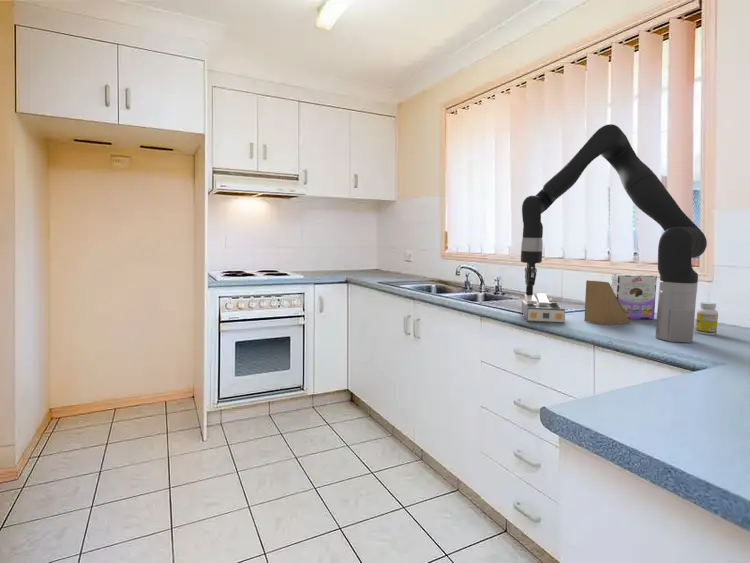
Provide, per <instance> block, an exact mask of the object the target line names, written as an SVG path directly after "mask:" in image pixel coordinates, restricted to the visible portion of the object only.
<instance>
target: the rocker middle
mask: <svg viewBox="0 0 750 563" xmlns="http://www.w3.org/2000/svg"><path fill="white" fill-rule="evenodd" d="M535 298H536V300H537V301H538V303H539V305H542V306H549V301H548V297H547V294H546V293H536V296H535Z"/></svg>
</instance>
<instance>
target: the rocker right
mask: <svg viewBox="0 0 750 563" xmlns="http://www.w3.org/2000/svg"><path fill="white" fill-rule="evenodd" d="M547 299H548V301H549V302H556V303H561V302H562V300H563V298H562V297H549V298H548V297H547Z"/></svg>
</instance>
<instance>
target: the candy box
mask: <svg viewBox="0 0 750 563" xmlns="http://www.w3.org/2000/svg"><path fill="white" fill-rule="evenodd" d="M657 281H658V280H657V275H654V274H646V273H645V274H642V273H641V274H639V273H612V275H611V284H610V285H611V288H612V290H613V292H614V294H615V295H616V297H617V299H618V301H619V302H620V304H621V306H622V308H623V310H624V311H625V313H626V315H627V317H628V318H629V320H630V319H632V320H635V319H636V320H639V319H640V320H654V319H655V310H656V309H655V307H656V305H655V304H656V294H657Z"/></svg>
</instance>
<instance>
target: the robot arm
mask: <svg viewBox="0 0 750 563" xmlns="http://www.w3.org/2000/svg"><path fill="white" fill-rule="evenodd" d="M633 148H634V147H632V144H631V143H630V140H629V139H628V137H627V135H626V134H625V133H624V132H623V131H622V129H621V128H620V127H619V126H618V125H616V124H612V123H611V124H605V125H603V126H601V127H600V128H598V129H597V130H596V131H594V133H593V134H592V136H591V137H590V138H589V139H588V140H587V142H585V144H584V145H583V146H582V147H581V148H580V149H579V151H578V152H576V154H575V155H574V156H573V157H572V158H571V159H570V160H569V162H567V163H566V165H564V167H563V168H561V169H560V170H558V172H557V173H555V174H554V175H553V176H552V177H551V178H550V179H549V180H547V181H546V182H545V183H544V185H542V186H543V187H542V189H541V190H540V191H538V193H536V194H535V195H529V196H527V197H525V199H523V202H522V206H521V217H522V225H523V228H522V240H521V248H520V263H522V264H524V263H525V264H526V266H524V279H525V281H524V283H525V286H526V287H525V294H526V295H533V294H534V292H533V291H534V286H535V285H536V278H537V272H538V270H537V269H538V268H537V267H536V264H541V263H542V261H543V250H544V249H543V244H544V243H543V237H544V236H543V234H544V233H543V232H544V226H543V223H542V214H543V213H544V212H546V211H547V210H548V209H549V208H550V207H551V206H552V205H553V204H554V202H555V201H557V199H559V198H560V197H561V196H563V195H565V193H566V192H567V191H569V189H571V188H572V187H573V186H574V185H575V184H576V183H577V182H578V180H579V179H580V177H581V176H582V174H583V173H584V171H585V170H586V168H588V166H589V165H590V164H591V163H592V161H594V160H595V159H597V158H599V156H601V157H602V158H604V160H606V161H607V162H608V163H609V165H610V166H612V168H613V169H614V170H615V172H616V173H617V174H618V177H619V179H620V182H621V185H622V187H623V189H624V190H625V192H626V194H627V195H628V197H629V198H630V200H631V201H632V203H633V204H634V205H635V207H637V208H638V209H639V210H640V211H641V212H642V213H644V214H645V215H647V216H648V217H649V218H651V219H652V220H654V221H655V222H656V224H658V225H659V226H660V227H661V229H662V230H663V232H662V234H661V235H660V238H659V239H658V240H659V241H658V247H657V248H658V249H657V272H658V273H659V287H658V300H657V312H656V324H655V338H656V339H659V340H662V341H666V342H671V343H672V342H674V343H688V344H690V343H691V344H692V343H693V340H694V339H693V338H694V328H695V316H696V306H697V305H696V304H697V302H696V301H697V296H698V295H697V294H698V284H699V283H698V282H699V274H698V272H696V271H695V270H694V268H693V266H692V262H693V261H692V259H694V258H697V257H700V256H701V255H703V253H705V251H706V249H707V247H708V246H707V245H708V242H707V237H706V235H705V234H704V232H703V231H702V229H701V228H699V226H697V225H696V224H695V223H694V221H692V220H691V218H689V216H687V215H686V213H685V212H684V211H683V210H682V209H681V207H680V206H679V204H678V203H677V201H676V200H675V199H674V197H672V194H670V192H669V191H668V190H667V189H666V186H665V185H664V184H663V183H662V181H661V180H660V179H659V177H658V176H657V175H656V174H655V172H653V170H652V169H651V168H650V167H649V166H648V165H647V164H645V162H643V161H642V160H641V159H640V158H639V157H638V155H637V153H636V152H635V150H634V149H633Z"/></svg>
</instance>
